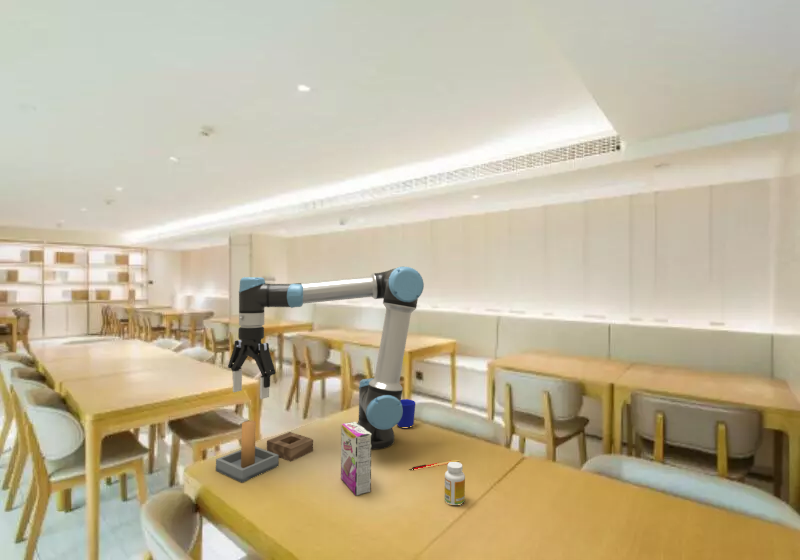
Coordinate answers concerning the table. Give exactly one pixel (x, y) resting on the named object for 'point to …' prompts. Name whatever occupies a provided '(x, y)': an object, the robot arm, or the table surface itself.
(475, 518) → the table surface
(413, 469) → the pen
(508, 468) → the table surface
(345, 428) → the candy bar box
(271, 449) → the hitch block
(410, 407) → the mug
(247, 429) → the pin
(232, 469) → the tray
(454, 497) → the supplement bottle
